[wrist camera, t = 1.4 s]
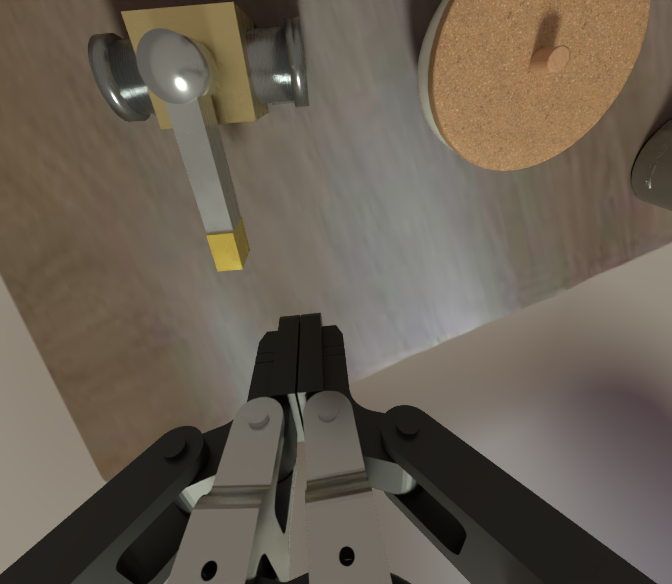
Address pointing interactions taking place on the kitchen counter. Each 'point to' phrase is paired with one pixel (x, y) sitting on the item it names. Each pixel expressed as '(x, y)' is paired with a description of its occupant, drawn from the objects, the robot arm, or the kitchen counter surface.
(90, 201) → the kitchen counter surface
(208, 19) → the ball valve
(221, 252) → the lever
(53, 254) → the kitchen counter surface
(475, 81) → the lidded bowl
